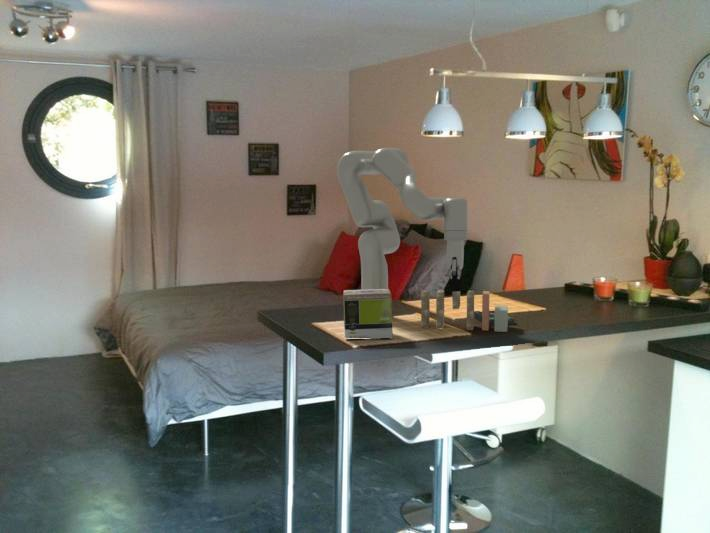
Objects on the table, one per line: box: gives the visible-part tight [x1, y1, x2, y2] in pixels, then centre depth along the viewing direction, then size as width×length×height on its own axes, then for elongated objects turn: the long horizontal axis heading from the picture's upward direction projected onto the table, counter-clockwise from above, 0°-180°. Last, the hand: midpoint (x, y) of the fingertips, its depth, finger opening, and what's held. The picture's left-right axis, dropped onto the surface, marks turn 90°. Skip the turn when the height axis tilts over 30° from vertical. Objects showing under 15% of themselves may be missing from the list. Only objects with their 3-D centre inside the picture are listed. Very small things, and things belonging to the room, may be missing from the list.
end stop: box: [493, 305, 509, 333], centre depth 236 cm, size 4×8×7 cm, turn 167°
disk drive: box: [474, 310, 515, 327], centre depth 249 cm, size 10×3×15 cm
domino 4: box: [466, 290, 475, 331], centre depth 238 cm, size 2×6×12 cm, turn 167°
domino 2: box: [435, 289, 445, 328], centre depth 240 cm, size 2×6×12 cm, turn 167°
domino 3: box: [451, 271, 461, 310], centre depth 238 cm, size 2×6×12 cm, turn 167°
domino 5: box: [481, 290, 490, 331], centre depth 237 cm, size 2×6×12 cm, turn 167°
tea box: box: [342, 288, 394, 340], centre depth 227 cm, size 15×10×15 cm
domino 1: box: [420, 289, 431, 329], centre depth 241 cm, size 2×6×12 cm, turn 167°
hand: (456, 289), depth 238 cm, fingers closed on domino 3, 6 cm apart
